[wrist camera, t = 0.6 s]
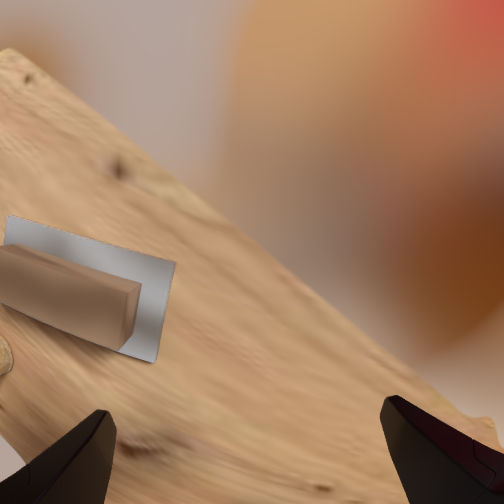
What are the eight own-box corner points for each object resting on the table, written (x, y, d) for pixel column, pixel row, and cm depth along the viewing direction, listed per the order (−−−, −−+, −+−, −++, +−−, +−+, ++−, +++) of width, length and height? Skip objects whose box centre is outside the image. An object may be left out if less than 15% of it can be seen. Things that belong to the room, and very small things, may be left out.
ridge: (156, 359, 23) (142, 384, 18) (4, 300, 21) (-24, 311, 17) (176, 262, 22) (162, 271, 18) (12, 215, 21) (-18, 215, 17)
